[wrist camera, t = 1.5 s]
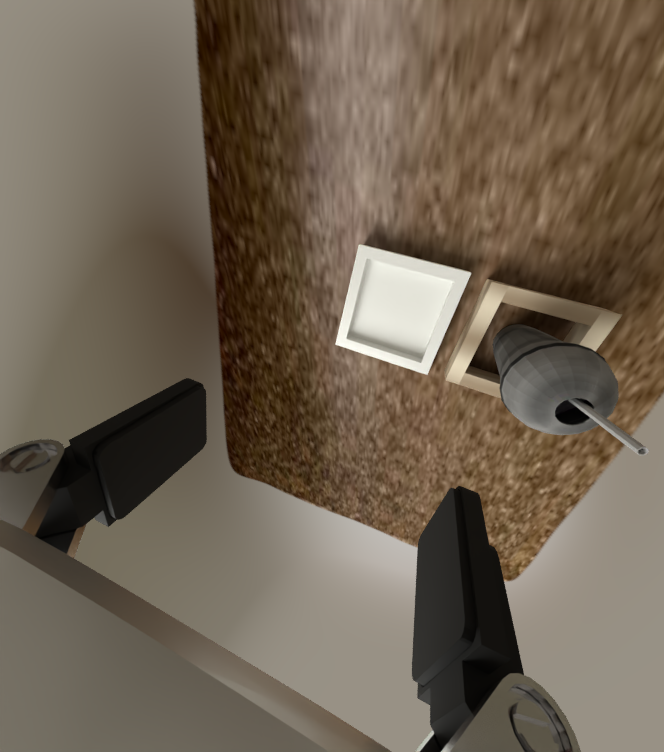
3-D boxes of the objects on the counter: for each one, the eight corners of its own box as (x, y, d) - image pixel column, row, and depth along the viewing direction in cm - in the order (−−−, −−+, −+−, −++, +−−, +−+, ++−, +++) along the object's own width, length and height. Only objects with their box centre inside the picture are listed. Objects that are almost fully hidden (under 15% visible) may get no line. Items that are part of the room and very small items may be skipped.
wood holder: (487, 278, 30) (492, 281, 27) (604, 308, 28) (622, 315, 25) (444, 370, 36) (445, 380, 33) (539, 401, 33) (548, 414, 31)
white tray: (363, 244, 33) (359, 244, 30) (468, 271, 30) (471, 272, 28) (340, 339, 38) (335, 344, 36) (427, 367, 36) (427, 374, 34)
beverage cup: (470, 328, 33) (512, 418, 15) (542, 299, 29) (699, 374, 12) (491, 380, 34) (551, 514, 17) (561, 359, 31) (724, 499, 14)
